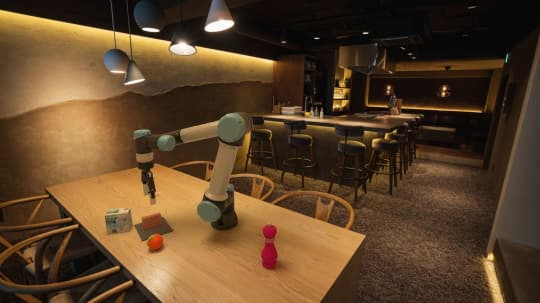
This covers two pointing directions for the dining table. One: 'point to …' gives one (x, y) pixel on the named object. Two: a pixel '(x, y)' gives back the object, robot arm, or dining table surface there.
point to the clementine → (155, 241)
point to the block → (151, 221)
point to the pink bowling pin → (269, 247)
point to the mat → (153, 230)
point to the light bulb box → (118, 220)
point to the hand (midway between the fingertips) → (149, 199)
